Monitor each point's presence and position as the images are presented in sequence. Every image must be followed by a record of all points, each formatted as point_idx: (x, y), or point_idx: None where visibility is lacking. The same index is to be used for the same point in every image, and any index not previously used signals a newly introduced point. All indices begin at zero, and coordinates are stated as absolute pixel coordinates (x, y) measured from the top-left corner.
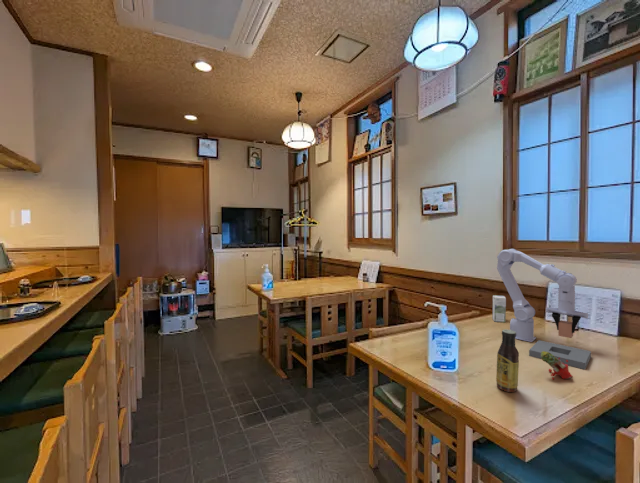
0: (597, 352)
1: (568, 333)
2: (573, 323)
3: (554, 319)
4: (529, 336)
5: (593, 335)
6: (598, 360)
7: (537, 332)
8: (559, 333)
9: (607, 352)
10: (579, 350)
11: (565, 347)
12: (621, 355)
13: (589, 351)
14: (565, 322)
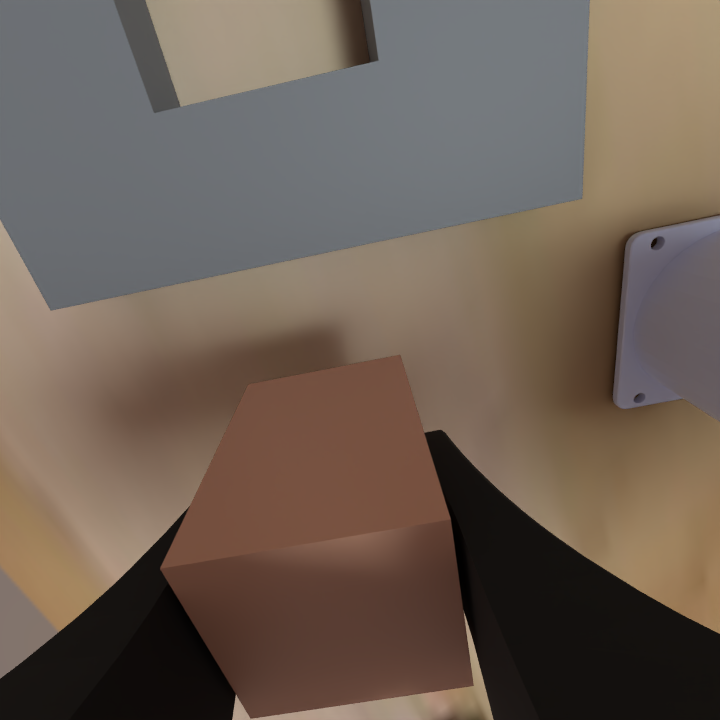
0: (149, 458)
1: (270, 412)
2: (117, 627)
3: (593, 573)
4: (698, 275)
5: (339, 717)
6: (9, 257)
7: (626, 546)
8: (391, 373)
9: (119, 512)
10: (115, 222)
11: (256, 187)
12: (40, 525)
13: (50, 287)
14: (341, 623)
